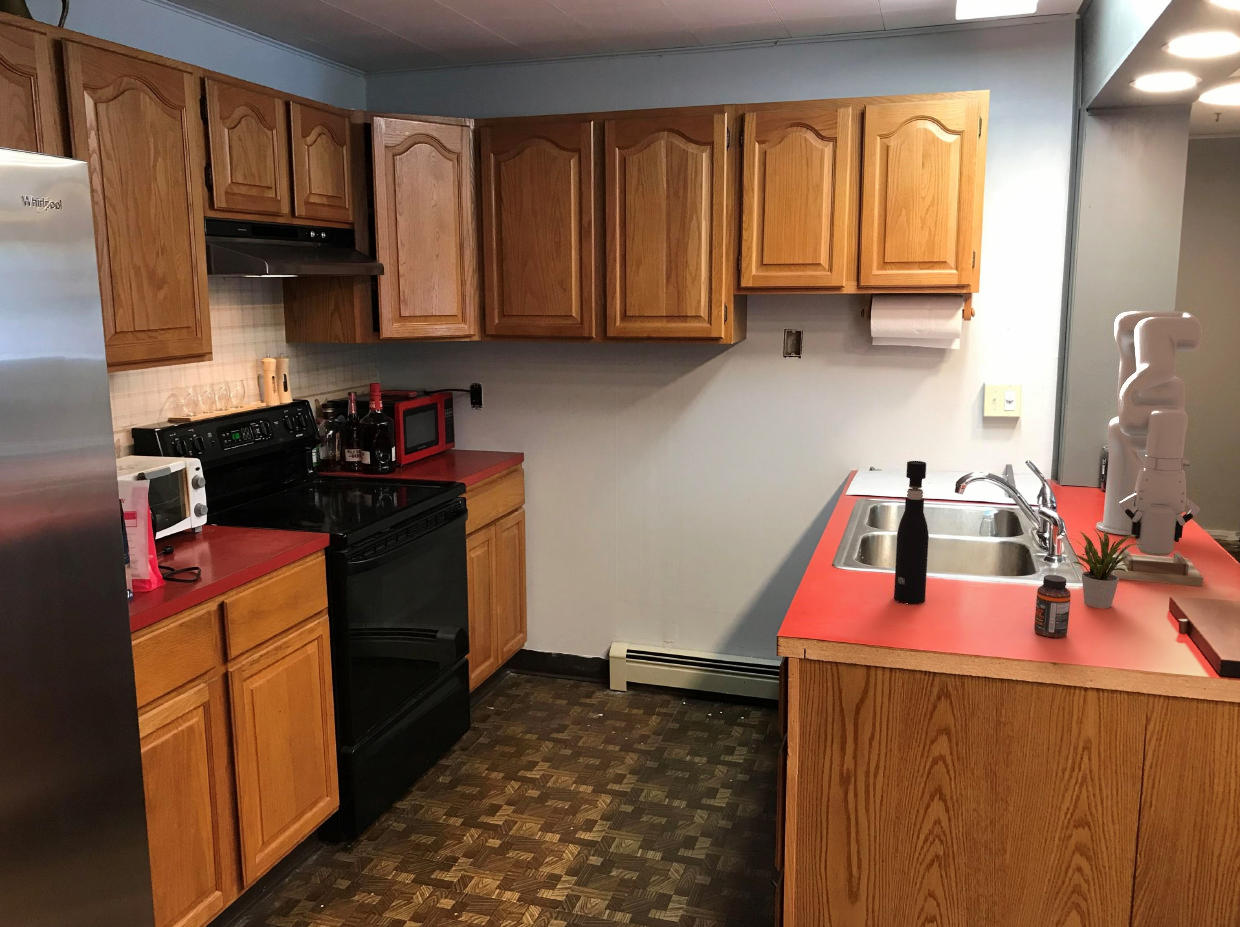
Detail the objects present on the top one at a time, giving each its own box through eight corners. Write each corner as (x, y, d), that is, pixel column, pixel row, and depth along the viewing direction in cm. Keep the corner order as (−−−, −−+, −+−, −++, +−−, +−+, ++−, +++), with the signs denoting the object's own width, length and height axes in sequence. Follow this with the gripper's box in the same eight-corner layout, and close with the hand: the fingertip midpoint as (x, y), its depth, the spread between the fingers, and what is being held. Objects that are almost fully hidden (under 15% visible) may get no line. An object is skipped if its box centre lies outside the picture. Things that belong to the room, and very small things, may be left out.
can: (1164, 548, 228) (1169, 498, 226) (1178, 557, 220) (1184, 505, 218) (1130, 547, 228) (1135, 498, 226) (1144, 556, 221) (1149, 505, 219)
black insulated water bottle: (925, 596, 210) (933, 460, 204) (924, 605, 204) (932, 465, 199) (894, 593, 212) (901, 458, 207) (892, 602, 206) (899, 464, 201)
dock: (1104, 559, 237) (1105, 542, 236) (1187, 566, 231) (1189, 548, 230) (1112, 578, 222) (1114, 559, 222) (1202, 586, 216) (1204, 566, 216)
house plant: (1152, 604, 204) (1159, 529, 201) (1130, 621, 195) (1137, 542, 192) (1081, 590, 214) (1088, 518, 211) (1057, 604, 204) (1063, 529, 201)
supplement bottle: (1027, 628, 191) (1032, 573, 189) (1057, 627, 191) (1061, 572, 189) (1043, 639, 185) (1048, 582, 183) (1073, 638, 185) (1078, 581, 183)
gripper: (1203, 463, 221) (1195, 538, 224) (1118, 459, 227) (1111, 532, 230) (1210, 469, 214) (1202, 546, 217) (1122, 464, 220) (1115, 540, 223)
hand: (1155, 538), depth 224 cm, fingers closed on can, 7 cm apart
